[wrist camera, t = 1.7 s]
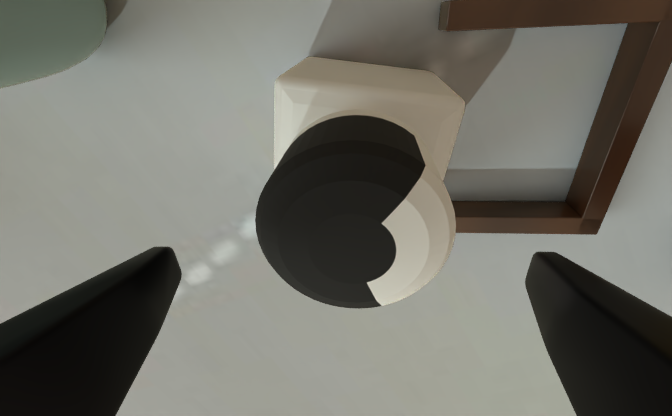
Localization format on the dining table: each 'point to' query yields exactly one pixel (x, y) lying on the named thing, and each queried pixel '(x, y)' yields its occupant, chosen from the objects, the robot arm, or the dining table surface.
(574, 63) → the dining table surface
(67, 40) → the cup
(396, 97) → the medicine bottle
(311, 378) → the dining table surface
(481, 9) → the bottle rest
